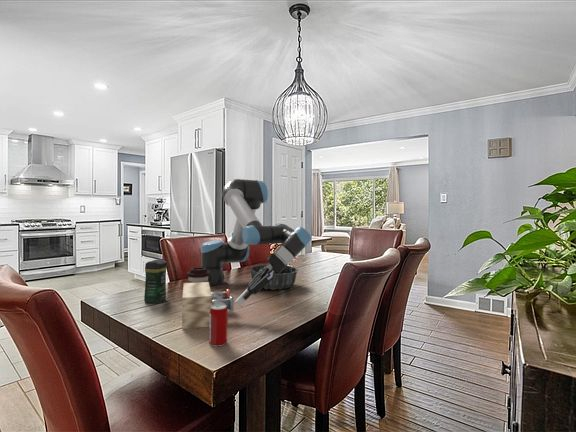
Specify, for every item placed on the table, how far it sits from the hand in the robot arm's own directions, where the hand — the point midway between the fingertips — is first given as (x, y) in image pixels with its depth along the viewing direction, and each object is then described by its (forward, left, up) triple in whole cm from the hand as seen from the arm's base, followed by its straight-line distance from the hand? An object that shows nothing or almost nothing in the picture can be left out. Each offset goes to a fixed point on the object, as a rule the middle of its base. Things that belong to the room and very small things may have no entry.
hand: (237, 304), depth 121 cm
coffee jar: (+12, -44, -6) cm, 46 cm away
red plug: (+1, -14, -3) cm, 14 cm away
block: (+10, -13, -6) cm, 17 cm away
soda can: (+18, +13, -6) cm, 23 cm away
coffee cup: (-1, -30, -6) cm, 31 cm away
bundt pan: (-46, -27, -6) cm, 54 cm away
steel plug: (+6, -4, -3) cm, 8 cm away
